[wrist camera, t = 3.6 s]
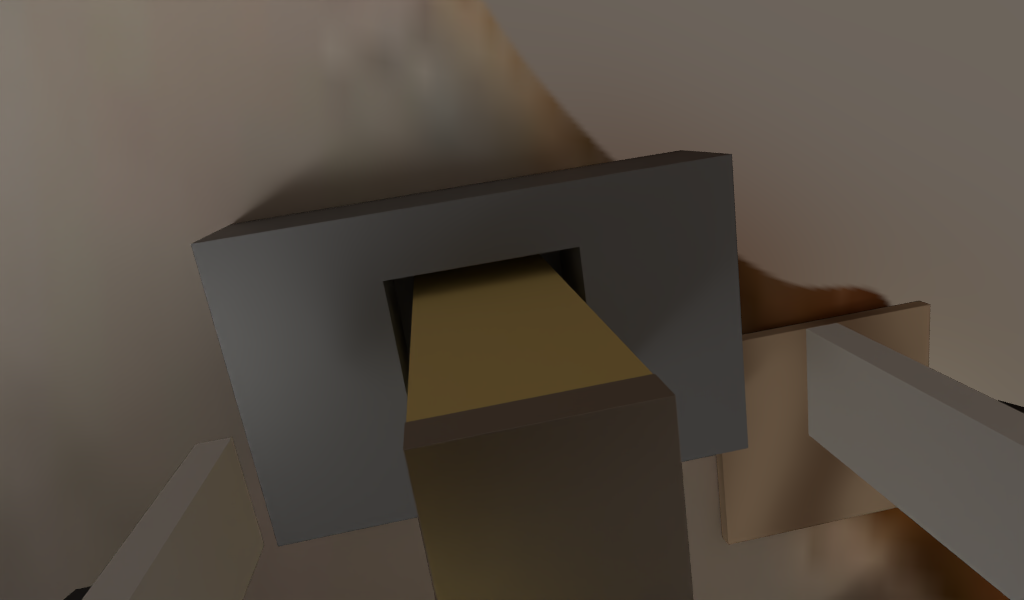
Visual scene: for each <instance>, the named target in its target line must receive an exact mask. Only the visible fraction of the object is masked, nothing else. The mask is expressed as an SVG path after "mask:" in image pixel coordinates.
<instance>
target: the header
mask: <svg viewBox="0 0 1024 600" xmlns="http://www.w3.org/2000/svg"><path fill="white" fill-rule="evenodd" d="M191 246H192V250H193V253H194V257H195V260H196V264H197V267H198V271H199V274H200V277H201V281H202V284H203V288H204V291H205V295H206V298H207V302H208V305H209V309H210V312H211V316H212V319H213V322H214V326H215V329H216V333H217V336H218V340H219V343H220V347H221V350H222V354H223V357H224V361H225V364H226V367H227V371H228V374H229V378H230V381H231V385H232V388H233V392H234V395H235V399H236V402H237V406H238V409H239V412H240V416H241V419H242V423H243V426H244V430H245V433H246V437H247V440H248V444H249V447H250V451H251V454H252V457H253V461H254V464H255V468H256V471H257V475H258V478H259V482H260V485H261V489H262V492H263V496H264V499H265V502H266V506H267V509H268V513H269V516H270V520H271V523H272V527H273V530H274V534H275V537H276V541H277V544H278V546H283V545H287V544H292V543H297V542H302V541H307V540H311V539H316V538H321V537H326V536H330V535H335V534H340V533H345V532H350V531H354V530H359V529H364V528H369V527H373V526H378V525H383V524H388V523H393V522H397V521H402V520H407V519H412V518H416V517H418V516H417V511H416V507H415V502H414V498H413V493H412V488H411V484H410V479H409V475H408V470H407V465H406V461H405V456H404V452H403V442H404V426H405V422H406V415H407V397H408V379H409V361H410V343H411V325H412V306H413V288H414V276H416V275H421V274H427V273H433V272H438V271H444V270H450V269H455V268H461V267H467V266H473V265H478V264H484V263H490V262H495V261H501V260H507V259H512V258H518V257H524V256H529V255H535V254H540V255H541V256H542V258H543V259H544V260H545V261H546V262H547V263H548V264H549V265H550V266H551V267H552V268H553V269H554V270H555V271H556V272H557V273H558V274H559V275H560V276H561V278H562V279H563V280H564V281H565V282H566V283H567V284H568V285H569V286H570V287H571V288H572V289H573V290H574V291H575V292H576V293H577V294H578V295H579V296H580V298H581V299H582V300H583V301H584V302H585V303H586V304H587V305H588V306H589V307H590V308H591V309H592V310H593V311H594V312H595V313H596V314H597V315H598V317H599V318H600V319H601V320H602V321H603V322H604V323H605V324H606V325H607V326H608V327H609V328H610V329H611V330H612V331H613V332H614V333H615V334H616V335H617V337H618V338H619V339H620V340H621V341H622V342H623V343H624V344H625V345H626V346H627V347H628V348H629V349H630V350H631V351H632V352H633V353H634V354H635V355H636V357H637V358H638V359H639V360H640V361H641V362H642V363H643V364H644V365H645V366H646V367H647V368H648V369H649V370H650V371H651V372H652V373H653V374H656V375H657V376H658V377H659V378H660V380H661V381H662V382H663V383H664V384H665V385H666V386H667V387H668V388H669V389H670V390H671V391H672V392H673V393H674V394H675V395H676V406H677V417H678V429H679V440H680V451H681V462H684V461H689V460H693V459H698V458H703V457H708V456H713V455H717V454H722V453H727V452H732V451H736V450H741V449H746V448H748V433H747V415H746V397H745V380H744V362H743V344H742V326H741V308H740V291H739V273H738V255H737V237H736V221H735V203H734V185H733V166H732V154H723V153H710V152H696V151H681V150H680V151H674V152H668V153H662V154H656V155H650V156H644V157H638V158H632V159H626V160H619V161H613V162H607V163H601V164H595V165H589V166H583V167H577V168H571V169H565V170H559V171H553V172H546V173H540V174H534V175H528V176H522V177H516V178H510V179H504V180H498V181H492V182H486V183H480V184H473V185H467V186H461V187H455V188H449V189H443V190H437V191H431V192H425V193H419V194H413V195H407V196H400V197H394V198H388V199H382V200H376V201H370V202H364V203H358V204H352V205H346V206H340V207H334V208H327V209H321V210H315V211H309V212H303V213H297V214H291V215H285V216H279V217H273V218H267V219H261V220H254V221H248V222H242V223H236V224H231V225H229V226H227V227H225V228H223V229H221V230H219V231H216V232H214V233H212V234H210V235H208V236H206V237H204V238H202V239H200V240H198V241H196V242H194V243H192V244H191Z"/></svg>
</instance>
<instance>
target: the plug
mask: <svg viewBox="0 0 1024 600" xmlns="http://www.w3.org/2000/svg"><path fill="white" fill-rule="evenodd" d="M403 452H404V456H405V461H406V465H407V470H408V475H409V479H410V484H411V488H412V493H413V498H414V502H415V507H416V511H417V516H418V521H419V525H420V530H421V534H422V539H423V544H424V548H425V553H426V557H427V562H428V567H429V571H430V576H431V580H432V585H433V590H434V594H435V599H436V600H694V599H693V588H692V576H691V565H690V554H689V542H688V531H687V520H686V508H685V497H684V486H683V474H682V463H681V451H680V440H679V429H678V417H677V406H676V395H675V394H674V393H673V392H672V391H671V390H670V389H669V388H668V387H667V386H666V385H665V384H664V383H663V382H662V381H661V380H660V378H659V377H658V376H657V375H656V374H653V373H652V372H651V371H650V370H649V369H648V368H647V367H646V366H645V365H644V364H643V363H642V362H641V361H640V360H639V359H638V358H637V357H636V355H635V354H634V353H633V352H632V351H631V350H630V349H629V348H628V347H627V346H626V345H625V344H624V343H623V342H622V341H621V340H620V339H619V338H618V337H617V335H616V334H615V333H614V332H613V331H612V330H611V329H610V328H609V327H608V326H607V325H606V324H605V323H604V322H603V321H602V320H601V319H600V318H599V317H598V315H597V314H596V313H595V312H594V311H593V310H592V309H591V308H590V307H589V306H588V305H587V304H586V303H585V302H584V301H583V300H582V299H581V298H580V296H579V295H578V294H577V293H576V292H575V291H574V290H573V289H572V288H571V287H570V286H569V285H568V284H567V283H566V282H565V281H564V280H563V279H562V278H561V276H560V275H559V274H558V273H557V272H556V271H555V270H554V269H553V268H552V267H551V266H550V265H549V264H548V263H547V262H546V261H545V260H544V259H543V258H542V256H541V255H540V254H535V255H529V256H524V257H518V258H512V259H507V260H501V261H495V262H490V263H484V264H478V265H473V266H467V267H461V268H455V269H450V270H444V271H438V272H433V273H427V274H421V275H416V276H414V288H413V306H412V325H411V343H410V361H409V379H408V397H407V415H406V422H405V426H404V442H403Z"/></svg>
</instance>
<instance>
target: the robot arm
mask: <svg viewBox="0 0 1024 600" xmlns="http://www.w3.org/2000/svg"><path fill="white" fill-rule="evenodd" d="M806 347H807V389H808V431H809V436H811V437H812V438H813V439H814V440H816V441H817V442H818V443H819V444H820V445H822V446H823V447H824V448H825V449H827V450H828V451H829V452H830V453H831V454H833V455H834V456H835V457H836V458H838V459H839V460H840V461H841V462H842V463H844V464H845V465H846V466H847V467H849V468H850V469H851V470H852V471H854V472H855V473H856V474H857V475H858V476H860V477H861V478H862V479H863V480H865V481H866V482H867V483H868V484H869V485H871V486H872V487H873V488H874V489H876V490H877V491H878V492H879V493H880V494H882V495H883V496H884V497H885V498H887V499H888V500H889V501H890V502H891V503H893V504H894V505H895V506H896V507H898V508H899V509H900V510H901V511H903V512H904V513H905V514H906V515H907V516H909V517H910V518H911V519H912V520H914V521H915V522H916V523H917V524H918V525H920V526H921V527H922V528H923V529H925V530H926V531H927V532H928V533H929V534H931V535H932V536H933V537H934V538H936V539H937V540H938V541H939V542H940V543H942V544H943V545H944V546H945V547H947V548H948V549H949V550H950V551H952V552H953V553H954V554H955V555H956V556H958V557H959V558H960V559H961V560H963V561H964V562H965V563H966V564H967V565H969V566H970V567H971V568H972V569H974V570H975V571H976V572H977V573H978V574H980V575H981V576H982V577H983V578H985V579H986V580H987V581H988V582H989V583H991V584H992V585H993V586H994V587H996V588H997V589H998V590H999V591H1001V592H1002V593H1003V594H1004V595H1005V596H1007V597H1008V598H1009V599H1010V600H1024V407H1021V406H1018V405H1014V404H1010V403H1006V402H1003V401H999V400H998V401H997V400H995V399H993V398H991V397H989V396H987V395H985V394H982V393H980V392H979V391H977V390H974V389H972V388H970V387H968V386H966V385H964V384H962V383H960V382H958V381H956V380H954V379H952V378H949V377H948V376H946V375H943V374H941V373H939V372H937V371H935V370H933V369H931V368H929V367H927V366H925V365H923V364H921V363H919V362H917V361H915V360H913V359H911V358H908V357H906V356H904V355H902V354H900V353H898V352H896V351H894V350H892V349H890V348H888V347H886V346H884V345H882V344H880V343H878V342H875V341H873V340H871V339H869V338H867V337H865V336H863V335H861V334H859V333H857V332H855V331H853V330H851V329H849V328H847V327H845V326H842V325H840V324H838V323H834V324H829V325H823V326H818V327H813V328H808V329H806ZM263 547H264V542H263V539H262V536H261V532H260V529H259V526H258V522H257V519H256V516H255V512H254V509H253V506H252V502H251V499H250V496H249V492H248V489H247V486H246V482H245V479H244V476H243V472H242V469H241V465H240V462H239V459H238V455H237V452H236V449H235V445H234V442H233V439H232V437H230V438H224V439H219V440H214V441H208V442H203V443H198V444H195V446H194V447H193V448H192V450H191V451H190V453H189V454H188V455H187V457H186V458H185V459H184V461H183V462H182V464H181V465H180V466H179V468H178V469H177V470H176V472H175V473H174V474H173V476H172V477H171V479H170V480H169V481H168V483H167V484H166V485H165V487H164V488H163V489H162V491H161V492H160V494H159V495H158V496H157V498H156V499H155V500H154V502H153V503H152V504H151V506H150V507H149V509H148V510H147V511H146V513H145V514H144V515H143V517H142V518H141V519H140V521H139V522H138V524H137V525H136V526H135V528H134V529H133V530H132V532H131V533H130V535H129V536H128V537H127V539H126V540H125V541H124V543H123V544H122V545H121V547H120V548H119V550H118V551H117V552H116V554H115V555H114V556H113V558H112V559H111V560H110V562H109V563H108V565H107V566H106V567H105V569H104V570H103V571H102V573H101V574H100V575H99V577H98V578H97V580H96V581H95V582H94V584H93V585H92V586H91V587H86V588H81V589H76V590H75V591H74V592H72V593H71V594H70V595H69V596H67V597H66V598H65V599H64V600H243V598H244V595H245V592H246V590H247V587H248V585H249V582H250V580H251V577H252V575H253V572H254V570H255V567H256V564H257V562H258V559H259V557H260V554H261V552H262V549H263Z"/></svg>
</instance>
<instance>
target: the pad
mask: <svg viewBox="0 0 1024 600" xmlns="http://www.w3.org/2000/svg"><path fill="white" fill-rule="evenodd" d="M834 323H838V324H840V325H842V326H845V327H847V328H849V329H851V330H853V331H855V332H857V333H859V334H861V335H863V336H865V337H867V338H869V339H871V340H873V341H875V342H878V343H880V344H882V345H884V346H886V347H888V348H890V349H892V350H894V351H896V352H898V353H900V354H902V355H904V356H906V357H908V358H911V359H913V360H915V361H917V362H919V363H921V364H923V365H925V366H927V367H929V335H930V304H927V303H925V302H921V301H915V302H910V303H905V304H900V305H894V306H889V307H884V308H879V309H873V310H868V311H863V312H858V313H853V314H848V315H842V316H837V317H832V318H827V319H822V320H816V321H811V322H806V323H801V324H796V325H790V326H785V327H780V328H775V329H770V330H764V331H759V332H754V333H749V334H744V335H742V344H743V362H744V380H745V397H746V415H747V433H748V448H746V449H741V450H736V451H732V452H727V453H722V454H717V455H716V458H717V472H718V486H719V500H720V514H721V528H722V537H723V538H724V540H725V541H726V542H727V544H728V545H730V544H734V543H739V542H743V541H748V540H752V539H757V538H761V537H766V536H770V535H775V534H779V533H784V532H788V531H793V530H797V529H802V528H806V527H811V526H815V525H820V524H824V523H829V522H833V521H838V520H842V519H847V518H851V517H856V516H860V515H865V514H869V513H874V512H878V511H883V510H887V509H892V508H896V506H895V505H894V504H893V503H891V502H890V501H889V500H888V499H887V498H885V497H884V496H883V495H882V494H880V493H879V492H878V491H877V490H876V489H874V488H873V487H872V486H871V485H869V484H868V483H867V482H866V481H865V480H863V479H862V478H861V477H860V476H858V475H857V474H856V473H855V472H854V471H852V470H851V469H850V468H849V467H847V466H846V465H845V464H844V463H842V462H841V461H840V460H839V459H838V458H836V457H835V456H834V455H833V454H831V453H830V452H829V451H828V450H827V449H825V448H824V447H823V446H822V445H820V444H819V443H818V442H817V441H816V440H814V439H813V438H812V437H811V436H809V431H808V389H807V347H806V329H808V328H813V327H818V326H823V325H829V324H834Z"/></svg>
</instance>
